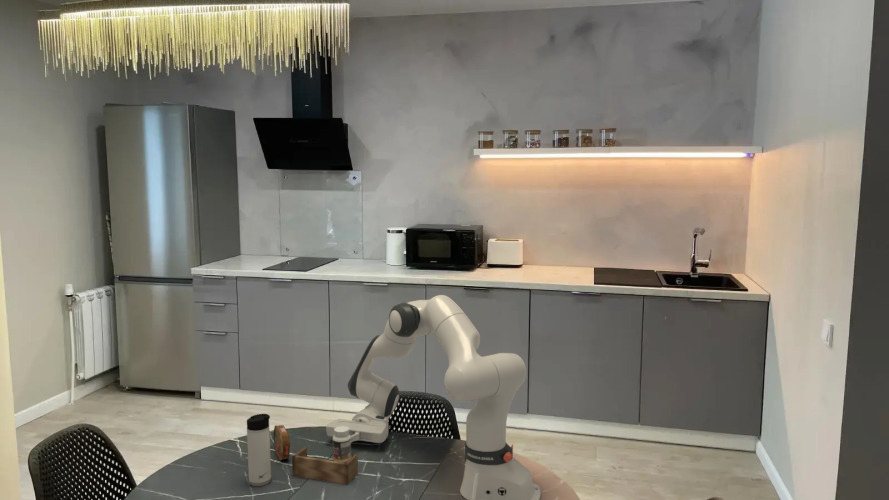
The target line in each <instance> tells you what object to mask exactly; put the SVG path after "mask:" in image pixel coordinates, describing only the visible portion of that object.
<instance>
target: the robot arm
mask: <svg viewBox="0 0 889 500" xmlns="http://www.w3.org/2000/svg"><path fill="white" fill-rule="evenodd" d="M428 335H429V336H430V335H434V336H435V338H436V340H437V341H438V342H439V344H440V345H441V348H442V349H443V350H444V352H445V354H446V356H447V358H448V368H447V370H446V372H445V374H444V377H443V378H444V379H443V384H444V387H445V391H446V393H447V395H448V396H449V397H450V398H451V399H452V400H453V401H455V402H475V401H476V403H475V405H474V406H473V407H472V408H471V409H470V411H469V412H468V413H467V416H466V419H465V420H466V422H465V425H466V426H465V435H466V436H465V438H466V439H465V443H464V447H463V457H464V463H465V465H464V472H463V477H462V482H461V486H460V488H459V492H460V495H461V496H463V498H464V499H465V500H541V495H542V493H541V488H540V486H539V484H537V483H534V482H533V478H532V473H531V471H530V470H529V468H528V467H526V466H525V465H524V464H523V463H521V462H519V461H518V460H517V459H516V458H515V457H514V456H513V452H514V444H511V445H509V444H508V443H507V442H506V436H507V419H508V414H509V410H510V407H511V405H512V402H513V399H514V397H515V396H516V394H517V392H518V390H519V389H520V388H521V387H522V386H523V385H524V383H525V382H526V378H527V376H528V375H527V372H528V371H527V366H526V363H525V361H524V360H523V358H522V357H521V356H520V355H518V354H517V353H512V352H498V353H495V354H490V355H484V356H481V354H479V353H478V352H477V350H478V349H479V346H480V344H481V335H480V332H479V330H477V328H476V326H475V325H474V324H473V323H472V321H471V319H469V317H468V315H467V314H466V313H465V312H464V311H463V309H462V308H461V307H460V306H459V305H458V304H457V303H456V302H455V301H454V300H453V299H452V298H451V297H449V296H447V295H445V294H438V295H435V296H433V297H432V298H430V299H418V300H413V301H412V300H411V301H408V302H401V303H398V304H396V305H394V306H392V308H391V309H390V312H389V315H388V319H387V322H386V324H385V327H384V330H383V333H382V334H381V335H380V334H378V335H376V336H375V337H374V338H372V340H370V342H369V344H368V345H367V346H366V349H365V350H364V352H363V354H362V357H361V358H360V360H359V362H358V364H357V366H356V368H355V370H354V371H353V373H352V374H351V376H350V377H349V380H348V382H347V389H348V391H349V394H350V395H351V397H352V396H353V397H355V398H358V399H360V400H362V401H364V402H366V403H367V405H365V407H364V408H362V410H360V411H358V412H357V413H356V414H354V416H353V417H352V418H351V419H344V418H337V419H335V420H333V421H330V422H329V423H328V424H326V427H325V428H326V429H325V431H326V432H325V433H326V435H327V437H332V438H333V436H334V435H335V434H334V429H335V428H336V427H339V426H346V427H348V428H349V433H348V434H349V435H350V436H351V444H352V443H353V442H356V441H361V442H368V443H369V442H370V443H375V444H381V443H383V442H384V441H386V440H387V438H388V436H389V419H390V417H391V416H392V414H393V413H394V412H395V411H396V409H397V406H399V405H398V404H399V402H400V398H401V394H400V389H399V387H398V385H396V384H395V383H393V382H391V381H389V380H387V379H385V378H382V377H381V376H379V375H378V374H376V373H373V372H372V371H371V368H372V366H373V365H374V362H375V360H376V358H384V359H390V360H391V359H392V360H396V359H397V360H399V359H402V358H404V357H407V356H408V355H410V353H412V352H413V349H414V347H415V345H416V343H417V338H418V337H419V336H420V337H421V336H428Z"/></svg>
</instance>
